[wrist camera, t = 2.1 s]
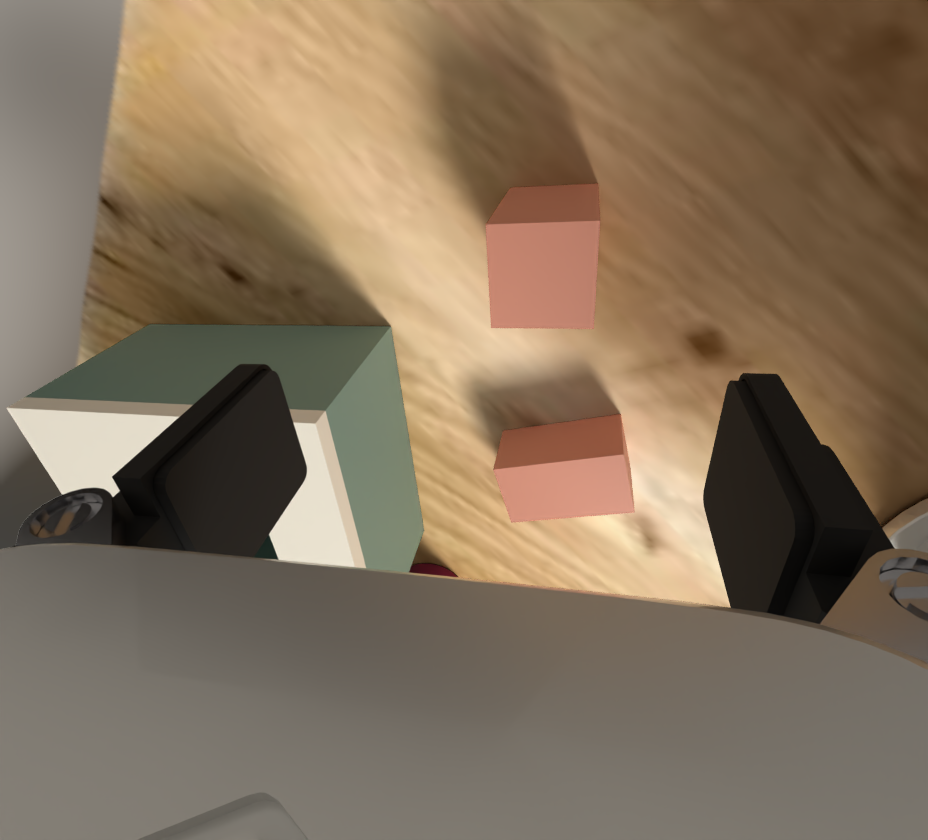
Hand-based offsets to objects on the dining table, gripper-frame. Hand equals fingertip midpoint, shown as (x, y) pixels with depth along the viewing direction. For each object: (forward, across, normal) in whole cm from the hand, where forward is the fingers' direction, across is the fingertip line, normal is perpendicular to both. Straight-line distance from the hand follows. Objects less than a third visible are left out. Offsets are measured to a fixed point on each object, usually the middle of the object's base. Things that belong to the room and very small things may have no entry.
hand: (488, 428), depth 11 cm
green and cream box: (+17, +16, +13) cm, 27 cm away
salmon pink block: (+17, 0, 0) cm, 17 cm away
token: (+17, -2, +13) cm, 22 cm away
